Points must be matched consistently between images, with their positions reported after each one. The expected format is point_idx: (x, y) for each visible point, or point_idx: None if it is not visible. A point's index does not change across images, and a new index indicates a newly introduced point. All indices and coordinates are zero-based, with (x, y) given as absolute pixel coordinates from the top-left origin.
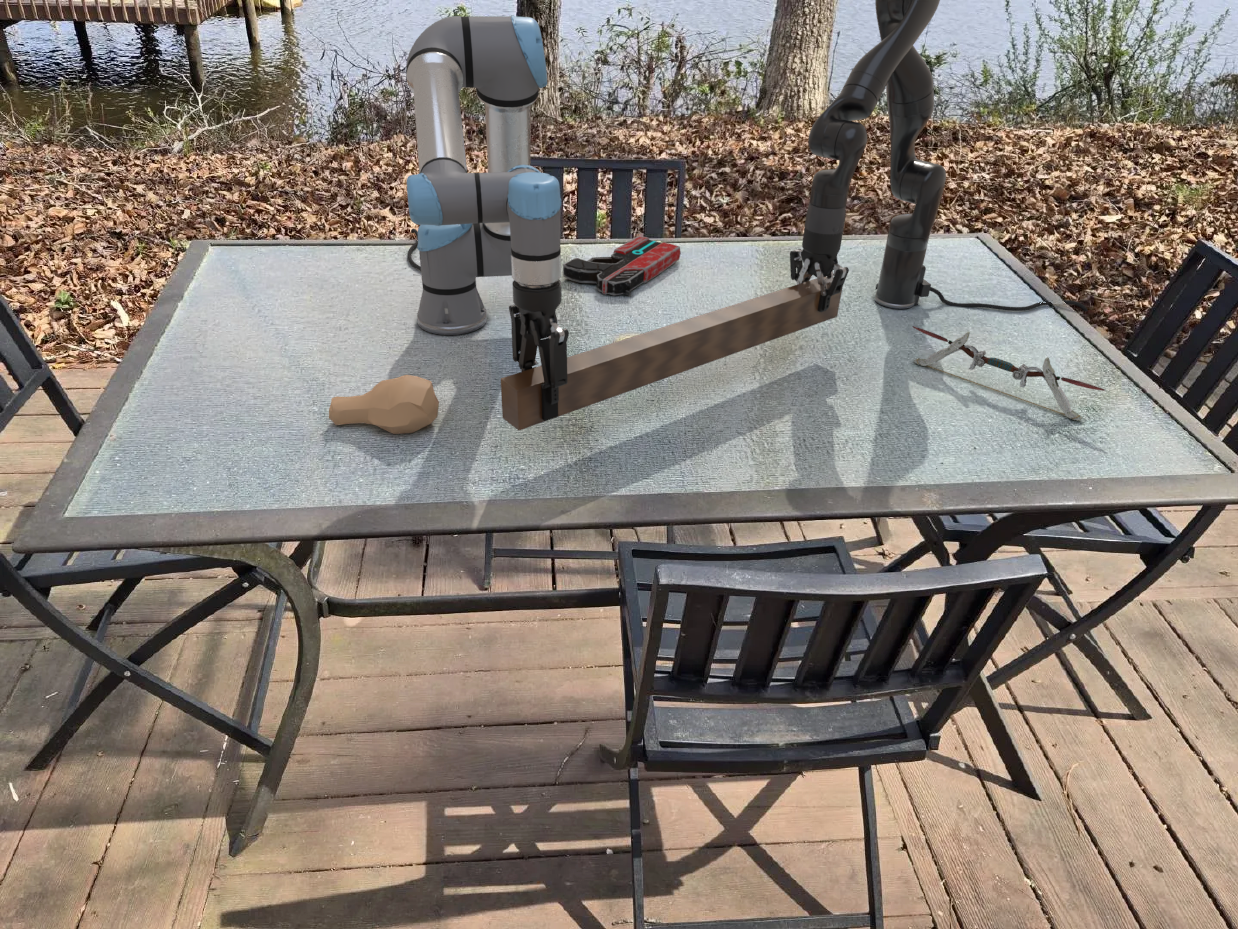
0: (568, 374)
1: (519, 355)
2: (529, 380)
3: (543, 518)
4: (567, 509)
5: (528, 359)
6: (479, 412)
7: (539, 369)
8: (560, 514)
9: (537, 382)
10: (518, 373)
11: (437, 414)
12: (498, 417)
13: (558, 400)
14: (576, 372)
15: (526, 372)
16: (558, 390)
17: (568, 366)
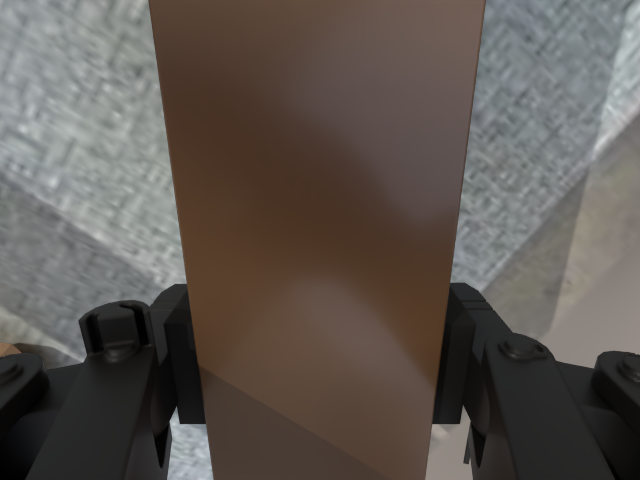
0: (459, 199)
1: (28, 467)
2: (352, 473)
3: (534, 336)
4: (552, 279)
5: (155, 466)
6: (7, 217)
7: (245, 348)
8: (553, 301)
9: (411, 452)
10: (222, 477)
11: (8, 349)
12: (58, 186)
13: (476, 291)
14: (469, 103)
15: (239, 439)
16: (507, 327)
17: (341, 109)
